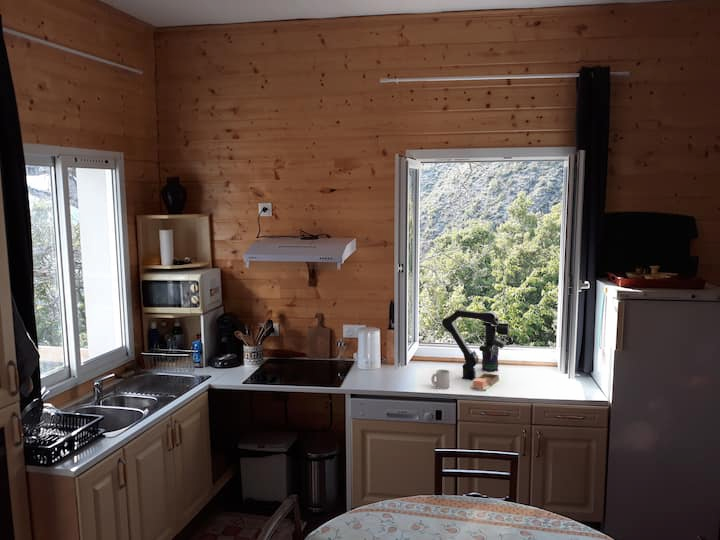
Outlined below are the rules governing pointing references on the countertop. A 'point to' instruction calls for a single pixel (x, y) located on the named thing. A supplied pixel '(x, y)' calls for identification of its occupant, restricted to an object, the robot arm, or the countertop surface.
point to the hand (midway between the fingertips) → (489, 360)
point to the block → (479, 383)
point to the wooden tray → (488, 380)
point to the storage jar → (490, 361)
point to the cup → (441, 378)
